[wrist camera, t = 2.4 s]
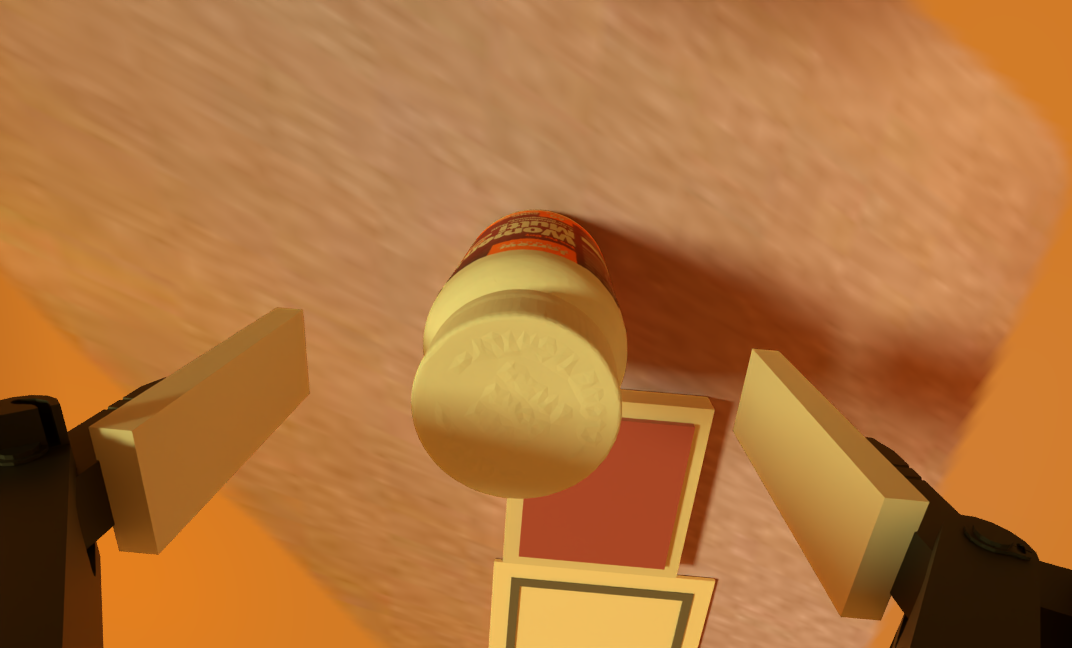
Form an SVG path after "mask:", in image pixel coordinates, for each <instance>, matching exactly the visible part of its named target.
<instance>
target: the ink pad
mask: <svg viewBox="0 0 1072 648" xmlns="http://www.w3.org/2000/svg"><path fill="white" fill-rule="evenodd" d="M621 396H622V418H621V424H620V429H619V432H618V434H617V438H616V441H615V442H614V444H613V446H612V448H611V450H610V452H609V454H608V455H607V457H606V458H605V460H604V461H603V462H602V463H601V464H600V465H599V466H598V467H597V469H595V470H594V471H593V472H592V473H591V474H590V475H589V476H588V477H586V478H585V479H583V480H582V481H580V482H579V483H577V484H576V485H574V486H571V487H569V488H567V489H565V490H563V491H560V492H558V493H553V494H550V495H547V496H543V497H536V498H525V499H514V498H507V507H506V521H505V536H504V550H503V563H512V564H523V565H534V566H546V567H557V568H568V569H579V570H590V571H601V572H612V573H623V574H634V575H645V576H656V577H667V578H676V577H677V572H678V568H679V564H680V559H681V555H682V550H683V546H684V542H685V537H686V533H687V529H688V524H689V520H690V516H691V511H692V507H693V503H694V498H695V494H696V489H697V485H698V481H699V476H700V472H701V468H702V463H703V459H704V455H705V450H706V446H707V442H708V437H709V433H710V428H711V424H712V420H713V415H714V411H715V409H714V407H713V406H712V404H711V402H710V400H709V398H708V397H705V396H694V395H682V394H671V393H659V392H648V391H637V390H625V389H621Z"/></svg>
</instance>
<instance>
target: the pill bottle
mask: <svg viewBox="0 0 1072 648" xmlns="http://www.w3.org/2000/svg"><path fill="white" fill-rule="evenodd" d="M423 353H424V357H423V359H422V361H421V363H420V365H419V367H418V370H417V372H416V375H415V378H414V382H413V386H412V395H411V411H412V417H413V422H414V426H415V429H416V432H417V434H418V437H419V439H420V441H421V443H422V445H423V447H424V448H425V450H426V451H427V453H428V454H429V456H430V457H431V458H432V460H433V461H434V462H435V463H436V464H437V465H438V466H439V467H440V468H441V469H442V470H443V471H444V472H445V473H447V474H448V475H449V476H451V477H452V478H454V479H455V480H457V481H458V482H460V483H462V484H464V485H465V486H467V487H469V488H471V489H474V490H476V491H479V492H482V493H485V494H489V495H493V496H497V497H502V498H514V499H525V498H536V497H543V496H547V495H550V494H553V493H558V492H560V491H563V490H565V489H567V488H569V487H571V486H574V485H576V484H577V483H579V482H580V481H582V480H583V479H585V478H586V477H588V476H589V475H590V474H591V473H592V472H593V471H594V470H595V469H597V467H598V466H599V465H600V464H601V463H602V462H603V461H604V460H605V458H606V457H607V455H608V454H609V452H610V450H611V448H612V446H613V444H614V442H615V441H616V438H617V434H618V432H619V429H620V424H621V418H622V396H621V389H620V386H621V383H622V381H623V378H624V374H625V370H626V364H627V336H626V329H625V326H624V321H623V317H622V314H621V311H620V308H619V305H618V303H617V299H616V296H615V292H614V290H613V286H612V283H611V280H610V276H609V273H608V270H607V266H606V263H605V260H604V258H603V255H602V253H601V251H600V249H599V247H598V245H597V243H596V242H595V240H594V239H593V238H592V236H591V235H590V234H589V233H588V232H587V231H586V230H585V229H584V228H583V227H582V226H580V225H579V224H578V223H576V222H575V221H573V220H572V219H570V218H568V217H566V216H563V215H561V214H558V213H555V212H551V211H546V210H524V211H518V212H515V213H512V214H509V215H507V216H504V217H502V218H500V219H499V220H497V221H495V222H494V223H492V224H491V225H490V226H488V227H487V228H486V229H485V230H484V231H483V232H482V233H481V234H480V236H479V237H478V238H477V239H476V241H475V242H474V243H473V244H472V246H471V247H470V249H469V251H468V252H467V254H466V255H465V257H464V258H463V260H462V261H461V263H460V264H459V266H458V267H457V268H456V270H455V272H454V273H453V275H452V276H451V277H450V278H449V280H448V281H447V282H446V284H445V285H444V287H443V288H442V289H441V290H440V292H439V294H438V296H437V298H436V300H435V302H434V304H433V305H432V307H431V310H430V312H429V315H428V318H427V321H426V325H425V330H424V338H423Z"/></svg>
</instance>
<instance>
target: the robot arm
mask: <svg viewBox="0 0 1072 648" xmlns="http://www.w3.org/2000/svg"><path fill="white" fill-rule="evenodd" d="M309 394H310V391H309V379H308V366H307V353H306V341H305V328H304V315H303V310H302V309H291V308H279V307H277V308H275V309H274V310H272V311H270V312H269V313H267V314H266V315H264V316H263V317H261V318H259V319H258V320H256V321H255V322H253V323H252V324H250V325H248V326H247V327H245V328H244V329H242V330H240V331H239V332H237V333H236V334H234V335H233V336H231V337H229V338H228V339H226V340H225V341H223V342H222V343H220V344H218V345H217V346H215V347H214V348H212V349H211V350H209V351H207V352H206V353H204V354H203V355H201V356H200V357H198V358H196V359H195V360H193V361H192V362H190V363H189V364H187V365H185V366H184V367H182V368H181V369H179V370H177V371H176V372H174V373H173V374H171V375H170V376H168V377H165V378H163V379H160V380H157V381H154V382H152V383H149V384H146V385H144V386H141V387H140V388H138V389H136V390H135V391H133V392H132V393H130V394H128V395H127V396H125V397H123V400H119V401H117V402H115V403H114V404H112V405H110V406H109V407H108V409H107V410H102V411H101V412H99V413H98V414H96V415H94V416H93V417H91V418H89V419H88V420H86V421H85V422H83V423H81V424H80V425H78V426H77V427H75V428H73V429H72V430H70V431H68V432H67V429H66V425H65V421H64V418H63V414H62V410H61V406H60V404H59V402H58V400H57V399H56V398H53V397H50V396H42V395H29V396H20V397H12V398H8V399H4V400H0V648H103V625H102V598H101V597H102V596H101V566H100V554H99V550H98V547H97V543H96V541H97V540H98V539H99V538H100V537H101V536H102V535H104V534H105V533H106V532H107V531H108V530H109V529H110V528H111V527H113V528H114V532H115V536H116V540H117V544H118V548H119V551H125V552H136V553H146V554H157V555H158V554H159V553H160V552H161V551H162V550H163V549H164V548H165V547H166V546H167V545H168V544H169V543H170V542H171V541H172V540H173V539H174V538H175V537H176V535H177V534H178V533H179V532H180V531H181V530H182V529H183V528H184V527H185V526H186V525H187V524H188V523H189V522H190V521H191V519H192V518H193V517H194V516H195V515H196V514H197V513H198V512H199V511H200V510H201V509H202V508H203V507H204V506H205V504H206V503H207V502H208V501H209V500H210V499H211V498H212V497H213V496H214V495H215V494H216V493H217V492H218V491H219V490H220V489H221V487H222V486H223V485H224V484H225V483H226V482H227V481H228V480H229V479H230V478H231V477H232V476H233V475H234V474H235V473H236V471H237V470H238V469H239V468H240V467H241V466H242V465H243V464H244V463H245V462H246V461H247V460H248V459H249V458H250V457H251V455H252V454H253V453H254V452H255V451H256V450H257V449H258V448H259V447H260V446H261V445H262V444H263V443H264V442H265V441H266V440H267V438H268V437H269V436H270V435H271V434H272V433H273V432H274V431H275V430H276V429H277V428H278V427H279V426H280V425H281V424H282V422H283V421H284V420H285V419H286V418H287V417H288V416H289V415H290V414H291V413H292V412H293V411H294V410H295V409H296V408H297V406H298V405H299V404H300V403H301V402H302V401H303V400H304V399H305V398H306V397H307V396H308V395H309ZM733 432H734V434H735V436H736V437H737V439H738V441H739V443H740V444H741V446H742V448H743V449H744V451H745V453H746V455H747V456H748V458H749V460H750V462H751V463H752V465H753V467H754V468H755V470H756V472H757V474H758V475H759V477H760V479H761V480H762V482H763V484H764V486H765V487H766V489H767V491H768V493H769V494H770V496H771V498H772V499H773V501H774V503H775V505H776V506H777V508H778V510H779V511H780V513H781V515H782V517H783V518H784V520H785V522H786V524H787V525H788V527H789V529H790V530H791V532H792V534H793V536H794V537H795V539H796V541H797V542H798V544H799V546H800V548H801V549H802V551H803V553H804V555H805V556H806V558H807V560H808V561H809V563H810V565H811V567H812V568H813V570H814V572H815V573H816V575H817V577H818V579H819V580H820V582H821V584H822V586H823V587H824V589H825V591H826V592H827V594H828V596H829V598H830V599H831V601H832V603H833V604H834V606H835V608H836V610H837V611H838V613H839V615H840V617H849V618H860V619H871V620H881V619H882V617H883V614H884V612H885V609H886V607H887V604H888V602H889V599H890V597H891V595H892V597H893V598H894V600H895V601H896V602H897V604H898V605H899V607H900V608H901V609H902V611H903V612H904V616H903V618H902V621H901V623H900V626H899V628H898V630H897V632H896V634H895V637H894V639H893V642H892V644H891V646H890V648H1072V570H1070V569H1066V568H1063V567H1059V566H1055V565H1052V564H1049V563H1045V562H1042V561H1039V559H1038V556H1037V554H1036V552H1035V551H1034V550H1033V549H1032V548H1031V547H1030V546H1029V545H1028V544H1027V543H1026V542H1025V541H1023V540H1022V539H1020V538H1019V537H1017V536H1016V535H1014V534H1013V533H1012V532H1010V531H1008V530H1006V529H1004V528H1002V527H1000V526H998V525H995V524H994V523H991V522H988V521H985V520H982V519H979V518H976V517H972V516H965V515H960V514H959V513H958V512H957V511H956V510H955V509H954V508H953V507H952V506H951V505H950V504H949V503H948V502H947V501H945V500H944V499H943V498H942V497H941V496H940V495H939V494H938V493H937V492H936V491H935V490H934V489H933V488H932V487H931V486H930V485H929V484H928V483H927V482H926V481H924V480H921V477H920V476H919V475H918V474H917V473H916V472H915V471H914V470H913V469H912V468H909V465H908V464H907V463H906V462H905V461H904V460H903V459H902V458H901V457H900V456H898V455H897V454H896V453H895V452H894V451H893V450H891V449H890V448H888V447H886V446H885V445H883V444H881V443H880V442H878V441H876V440H875V439H873V438H868V437H864V436H863V435H862V434H861V433H860V432H859V431H858V430H857V429H856V428H855V427H854V426H853V425H852V424H851V423H850V422H849V421H848V420H847V419H846V418H845V417H844V416H843V415H842V414H841V413H840V412H839V411H838V410H837V409H836V408H835V407H834V406H833V405H832V404H831V403H830V402H829V401H828V400H827V399H826V398H825V397H824V396H823V395H822V394H821V393H820V392H819V391H818V390H817V389H816V388H815V387H814V386H813V385H812V384H811V383H810V382H809V381H808V380H807V379H806V378H805V377H804V376H803V375H802V374H801V373H800V372H799V371H798V370H797V369H796V368H795V367H794V366H793V365H792V364H791V363H790V362H789V361H788V360H787V359H786V358H785V357H784V356H783V355H782V354H781V353H780V352H779V351H775V350H763V349H752V352H751V356H750V360H749V364H748V369H747V373H746V377H745V381H744V385H743V390H742V394H741V398H740V402H739V406H738V410H737V415H736V419H735V423H734V427H733Z"/></svg>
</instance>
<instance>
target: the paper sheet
mask: <svg viewBox="0 0 1072 648" xmlns="http://www.w3.org/2000/svg"><path fill="white" fill-rule="evenodd" d="M714 584H715V579H714V578H703V577H692V576H681V575H677V577H676V578H667V577H656V576H645V575H634V574H623V573H612V572H601V571H590V570H579V569H568V568H557V567H546V566H534V565H523V564H512V563H503V559H494V572H493V588H492V604H491V619H490V635H489V648H698V645H699V641H700V637H701V633H702V629H703V626H704V622H705V618H706V614H707V611H708V607H709V603H710V599H711V596H712V592H713V588H714Z"/></svg>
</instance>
